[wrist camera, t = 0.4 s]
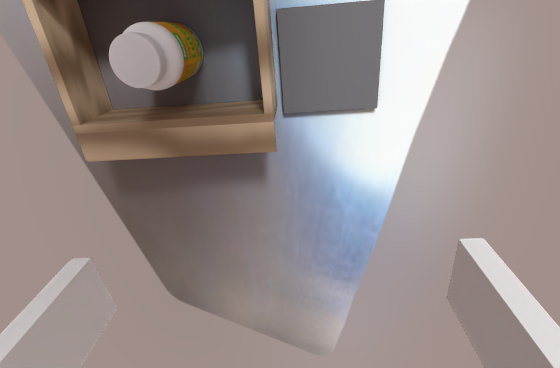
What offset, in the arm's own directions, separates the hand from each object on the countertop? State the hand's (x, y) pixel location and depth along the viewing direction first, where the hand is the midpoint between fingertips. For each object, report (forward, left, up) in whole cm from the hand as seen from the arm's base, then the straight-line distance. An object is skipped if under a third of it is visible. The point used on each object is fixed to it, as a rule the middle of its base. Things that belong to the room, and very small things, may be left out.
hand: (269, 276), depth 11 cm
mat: (-5, +5, -26) cm, 26 cm away
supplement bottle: (-7, -11, -26) cm, 29 cm away
